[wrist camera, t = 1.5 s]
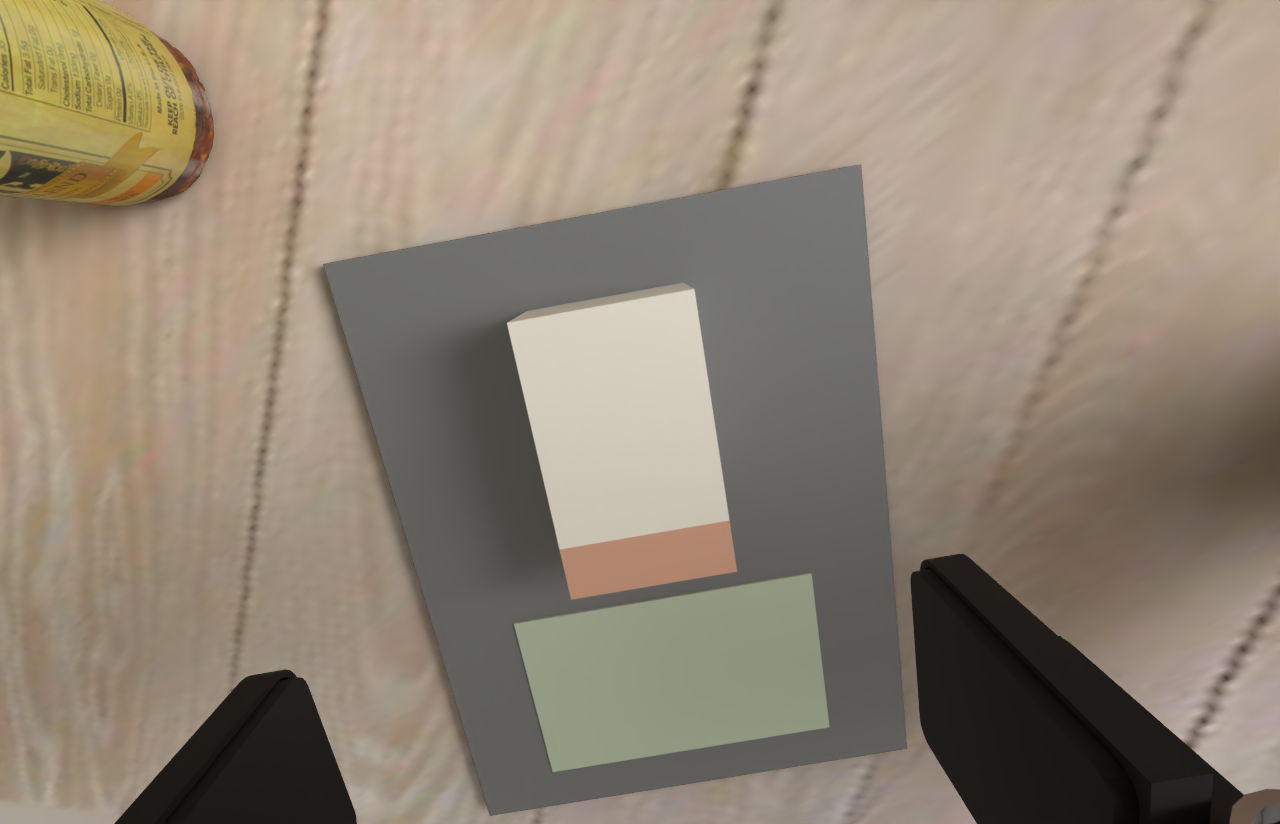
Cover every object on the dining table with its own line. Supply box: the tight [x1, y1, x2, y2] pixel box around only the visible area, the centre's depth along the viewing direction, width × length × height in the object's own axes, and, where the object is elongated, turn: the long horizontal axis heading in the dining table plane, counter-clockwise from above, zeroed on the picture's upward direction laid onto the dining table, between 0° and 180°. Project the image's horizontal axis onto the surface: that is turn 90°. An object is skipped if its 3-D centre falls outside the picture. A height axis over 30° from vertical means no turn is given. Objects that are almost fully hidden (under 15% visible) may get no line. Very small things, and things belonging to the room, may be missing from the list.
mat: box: [323, 165, 907, 816], centre depth 26 cm, size 20×26×1 cm
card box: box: [507, 283, 737, 600], centre depth 22 cm, size 6×10×4 cm, turn 10°
